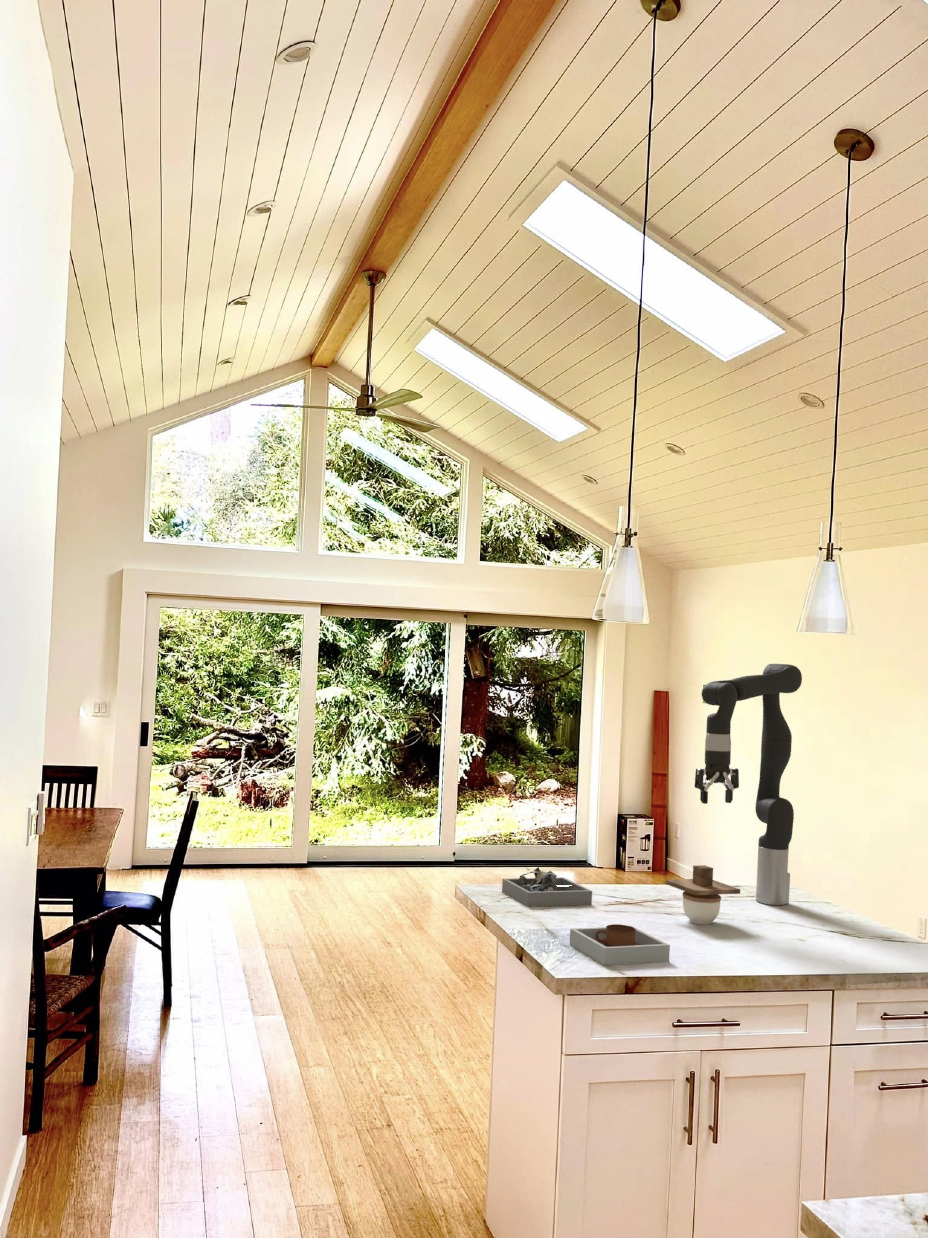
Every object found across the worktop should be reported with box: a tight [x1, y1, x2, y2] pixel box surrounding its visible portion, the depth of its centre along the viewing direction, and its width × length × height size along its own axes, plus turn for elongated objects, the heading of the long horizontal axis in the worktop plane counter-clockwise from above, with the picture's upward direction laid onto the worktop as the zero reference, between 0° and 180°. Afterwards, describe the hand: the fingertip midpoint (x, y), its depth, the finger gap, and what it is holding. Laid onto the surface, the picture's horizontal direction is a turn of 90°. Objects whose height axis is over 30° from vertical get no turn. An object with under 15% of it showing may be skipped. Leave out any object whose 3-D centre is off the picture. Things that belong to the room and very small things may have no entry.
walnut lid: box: [665, 864, 741, 895], centre depth 298 cm, size 15×15×6 cm
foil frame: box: [501, 876, 593, 907], centre depth 316 cm, size 21×19×4 cm
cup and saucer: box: [595, 923, 641, 947], centre depth 260 cm, size 12×12×6 cm
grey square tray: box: [569, 925, 671, 966], centre depth 259 cm, size 18×18×4 cm
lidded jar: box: [682, 891, 722, 925], centre depth 297 cm, size 11×11×9 cm
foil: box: [517, 866, 558, 892], centre depth 317 cm, size 12×11×15 cm
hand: (716, 803), depth 312 cm, fingers open, 8 cm apart
